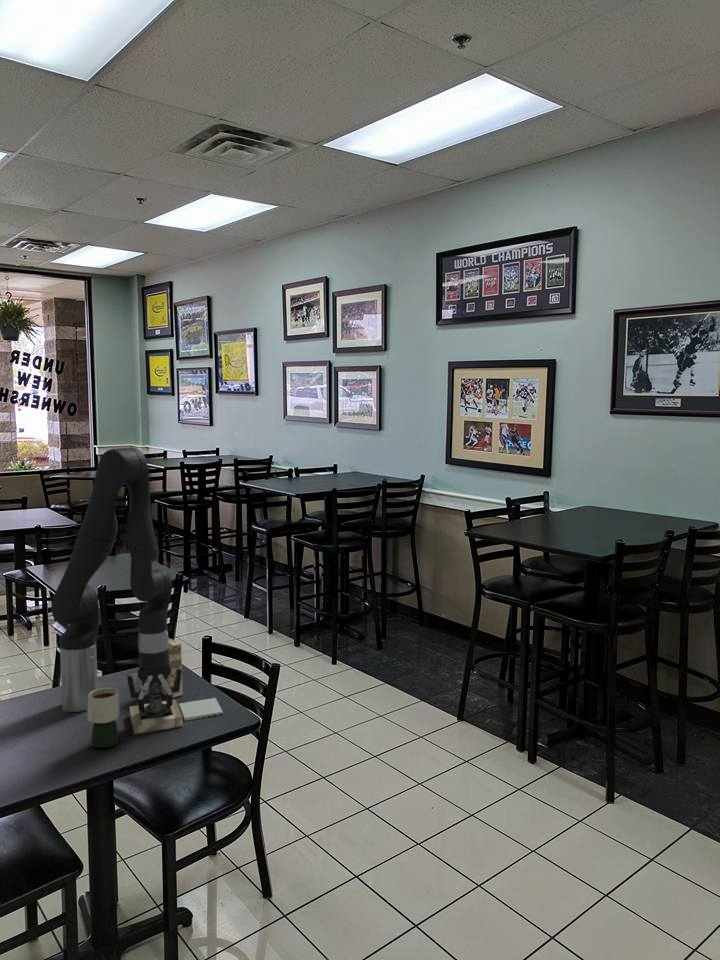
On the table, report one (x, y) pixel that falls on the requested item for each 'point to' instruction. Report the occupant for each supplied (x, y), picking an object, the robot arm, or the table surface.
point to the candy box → (174, 666)
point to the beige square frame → (155, 719)
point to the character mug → (103, 716)
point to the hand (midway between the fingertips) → (155, 709)
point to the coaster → (200, 709)
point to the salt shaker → (155, 702)
